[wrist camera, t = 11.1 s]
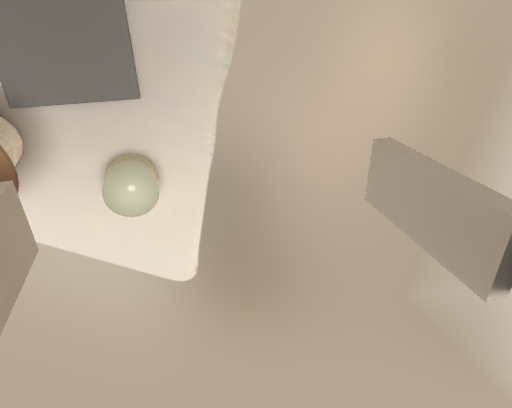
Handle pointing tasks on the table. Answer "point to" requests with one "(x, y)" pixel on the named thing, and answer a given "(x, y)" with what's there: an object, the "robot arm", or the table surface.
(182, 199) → the table surface
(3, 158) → the walnut lid
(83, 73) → the mat
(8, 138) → the white cup
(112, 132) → the table surface
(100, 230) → the table surface
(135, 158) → the cream capsule cylinder
